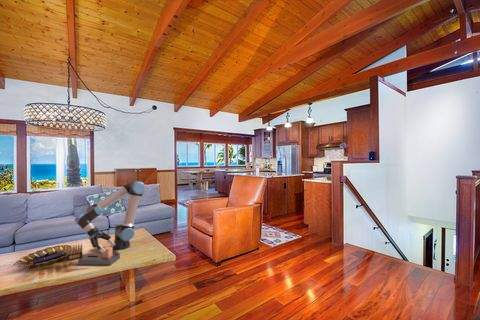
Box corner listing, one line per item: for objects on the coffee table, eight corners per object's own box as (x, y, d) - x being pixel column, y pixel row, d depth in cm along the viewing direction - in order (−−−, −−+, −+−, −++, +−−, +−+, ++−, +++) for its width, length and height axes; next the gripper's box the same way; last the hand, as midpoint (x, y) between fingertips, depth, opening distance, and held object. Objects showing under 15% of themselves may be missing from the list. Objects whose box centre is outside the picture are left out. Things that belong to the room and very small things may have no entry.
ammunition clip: (82, 257, 189) (82, 243, 189) (82, 258, 187) (82, 243, 187) (66, 260, 182) (66, 246, 182) (66, 261, 180) (66, 246, 181)
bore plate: (89, 258, 187) (89, 253, 187) (119, 258, 186) (119, 253, 186) (78, 265, 174) (78, 259, 174) (110, 265, 173) (110, 260, 173)
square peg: (106, 260, 183) (106, 246, 183) (112, 260, 183) (112, 246, 183) (102, 262, 178) (102, 249, 178) (108, 262, 178) (108, 249, 178)
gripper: (97, 228, 193) (114, 246, 193) (76, 238, 168) (95, 258, 168) (104, 222, 193) (120, 240, 193) (83, 231, 168) (102, 251, 168)
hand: (109, 248), depth 180 cm, fingers open, 13 cm apart
